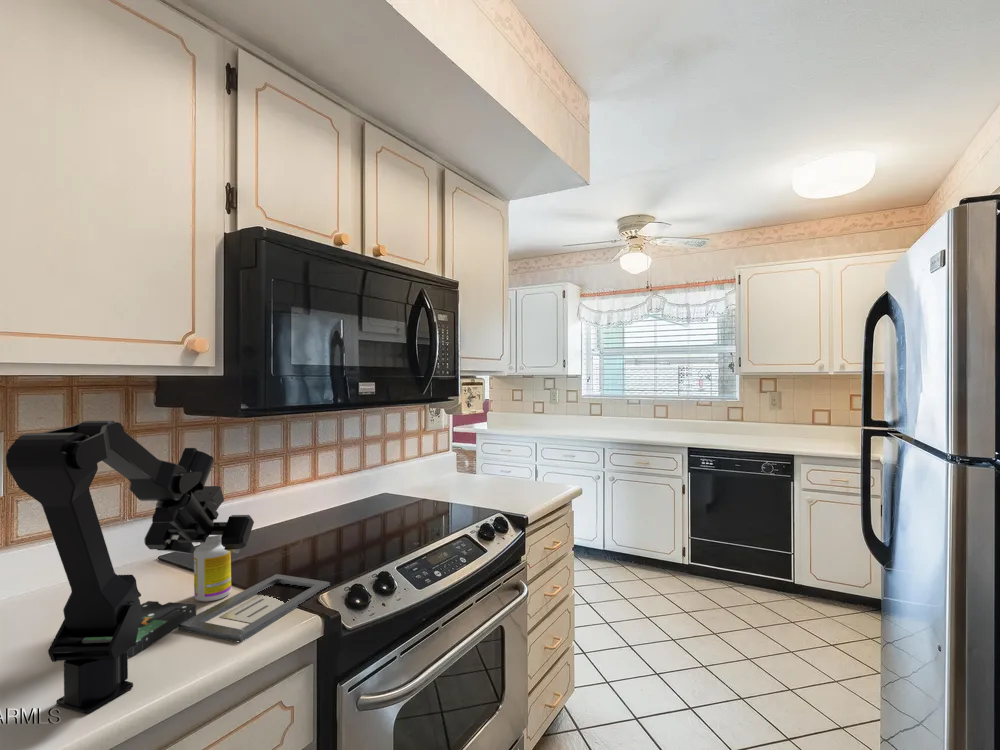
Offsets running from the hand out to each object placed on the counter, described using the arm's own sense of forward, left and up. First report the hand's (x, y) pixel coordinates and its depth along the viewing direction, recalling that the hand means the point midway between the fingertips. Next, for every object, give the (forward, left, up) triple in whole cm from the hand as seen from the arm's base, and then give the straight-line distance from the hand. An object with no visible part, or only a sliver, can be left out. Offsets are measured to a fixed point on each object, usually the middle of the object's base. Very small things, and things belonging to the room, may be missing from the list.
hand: (216, 551), depth 109 cm
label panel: (-2, -13, -9) cm, 16 cm away
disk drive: (-17, -1, -9) cm, 19 cm away
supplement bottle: (-1, 0, -9) cm, 9 cm away
